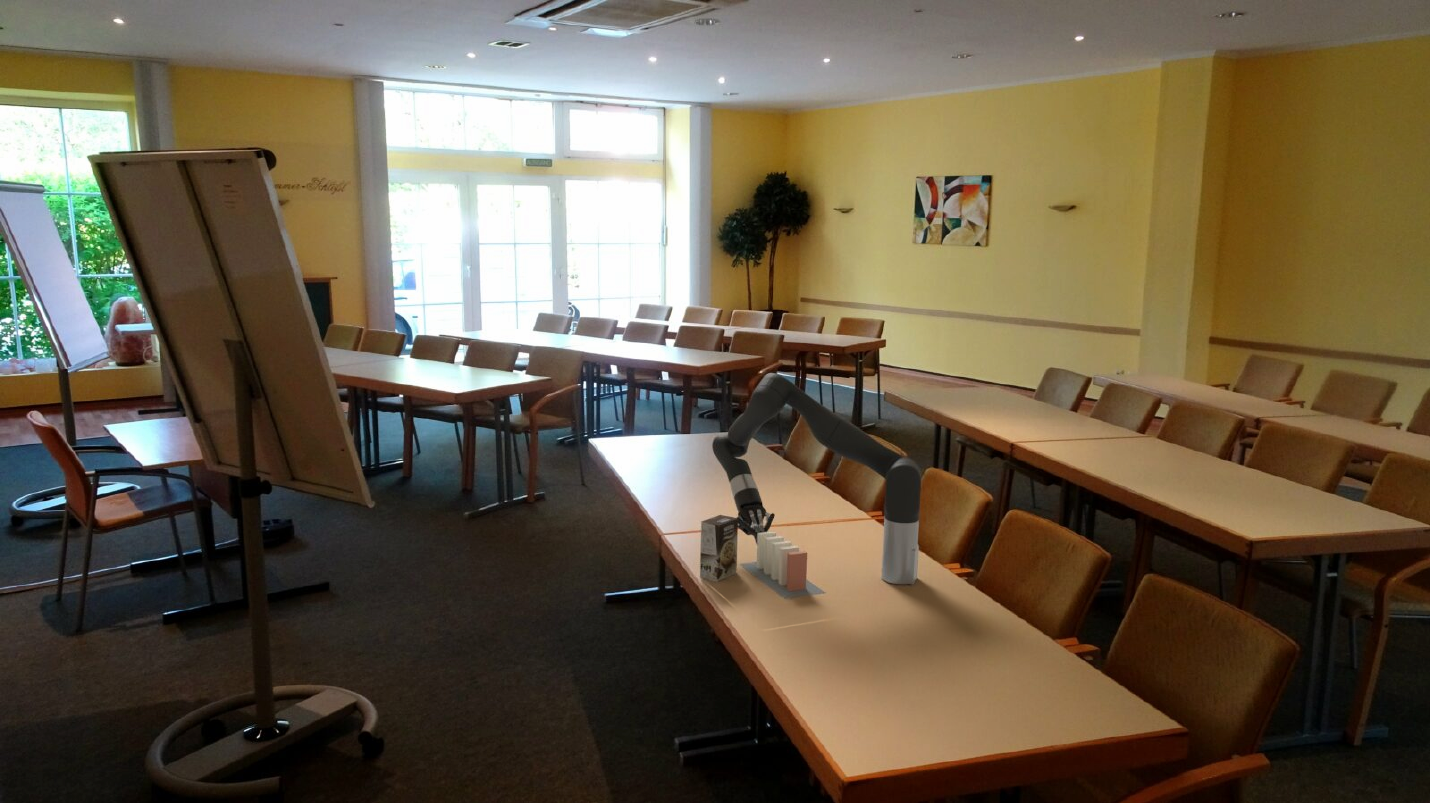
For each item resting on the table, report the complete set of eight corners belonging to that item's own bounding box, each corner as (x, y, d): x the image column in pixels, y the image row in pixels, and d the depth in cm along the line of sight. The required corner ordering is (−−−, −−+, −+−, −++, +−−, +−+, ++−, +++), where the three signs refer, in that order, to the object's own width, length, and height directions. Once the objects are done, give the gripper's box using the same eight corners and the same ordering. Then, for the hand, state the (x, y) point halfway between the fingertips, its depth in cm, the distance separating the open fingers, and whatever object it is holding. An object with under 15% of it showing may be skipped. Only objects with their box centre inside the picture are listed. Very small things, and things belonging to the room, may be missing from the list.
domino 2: (779, 570, 267) (780, 535, 266) (782, 572, 266) (783, 537, 264) (763, 572, 265) (764, 537, 264) (766, 574, 264) (767, 539, 262)
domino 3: (787, 575, 263) (788, 540, 261) (790, 577, 262) (791, 542, 260) (771, 577, 261) (772, 542, 259) (773, 579, 260) (774, 544, 258)
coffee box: (717, 583, 258) (719, 525, 255) (699, 577, 262) (699, 520, 259) (737, 574, 265) (739, 517, 262) (719, 568, 269) (720, 513, 266)
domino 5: (803, 586, 255) (804, 550, 253) (806, 588, 254) (807, 552, 252) (786, 589, 253) (787, 552, 251) (789, 591, 252) (790, 554, 250)
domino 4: (795, 580, 259) (796, 545, 257) (797, 582, 258) (799, 547, 256) (778, 583, 257) (779, 547, 255) (781, 585, 256) (782, 549, 254)
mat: (739, 565, 272) (739, 563, 272) (776, 560, 277) (776, 558, 276) (784, 600, 247) (784, 598, 246) (825, 593, 251) (825, 592, 251)
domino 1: (772, 565, 271) (773, 531, 270) (775, 566, 270) (776, 532, 268) (756, 567, 269) (757, 532, 268) (759, 568, 268) (760, 534, 266)
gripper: (761, 497, 285) (779, 549, 276) (721, 501, 280) (737, 555, 271) (770, 484, 279) (788, 537, 270) (728, 488, 274) (746, 542, 265)
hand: (763, 546), depth 271 cm, fingers closed
